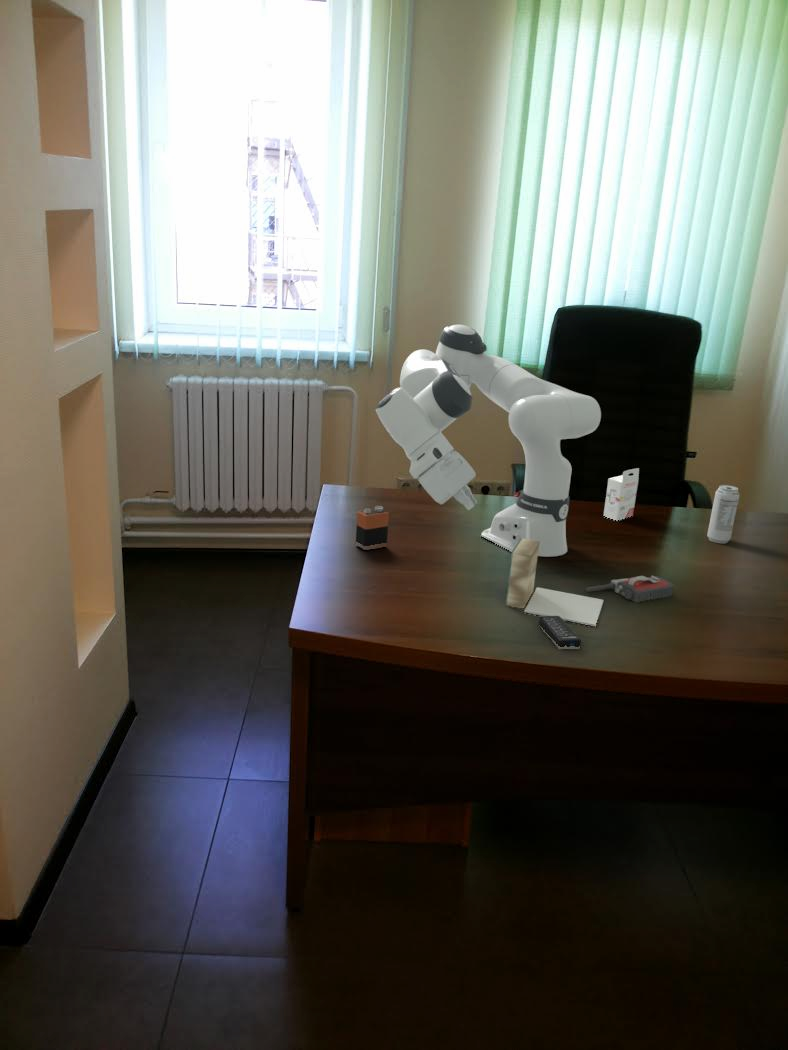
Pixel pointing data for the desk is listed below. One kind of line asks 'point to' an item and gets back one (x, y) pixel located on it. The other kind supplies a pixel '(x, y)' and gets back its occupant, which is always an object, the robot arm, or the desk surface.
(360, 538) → the battery
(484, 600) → the desk surface
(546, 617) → the multiport hub
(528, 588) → the beige rectangular block
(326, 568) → the desk surface
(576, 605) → the mat
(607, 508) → the ink cartridge box
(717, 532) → the energy drink can
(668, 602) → the desk surface
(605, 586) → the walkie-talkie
